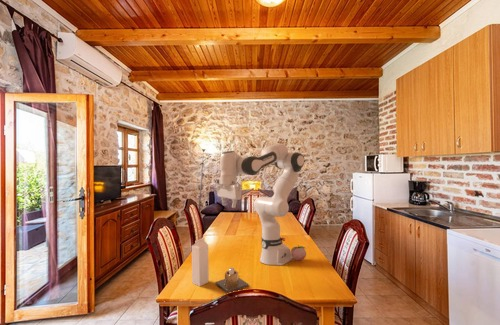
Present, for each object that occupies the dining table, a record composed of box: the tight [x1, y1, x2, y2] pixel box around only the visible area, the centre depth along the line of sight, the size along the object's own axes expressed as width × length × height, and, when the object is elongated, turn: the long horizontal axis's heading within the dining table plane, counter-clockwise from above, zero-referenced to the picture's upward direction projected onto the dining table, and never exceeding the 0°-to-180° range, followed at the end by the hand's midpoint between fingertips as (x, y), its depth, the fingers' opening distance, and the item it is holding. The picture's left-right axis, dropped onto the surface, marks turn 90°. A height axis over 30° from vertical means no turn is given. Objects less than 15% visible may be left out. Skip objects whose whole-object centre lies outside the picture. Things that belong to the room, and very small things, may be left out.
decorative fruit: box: [290, 245, 307, 263], centre depth 154 cm, size 9×8×10 cm
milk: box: [191, 237, 210, 287], centre depth 128 cm, size 6×6×22 cm
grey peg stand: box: [214, 267, 250, 294], centre depth 125 cm, size 12×12×8 cm
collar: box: [224, 269, 239, 286], centre depth 125 cm, size 6×6×5 cm
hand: (229, 206), depth 136 cm, fingers open, 8 cm apart
